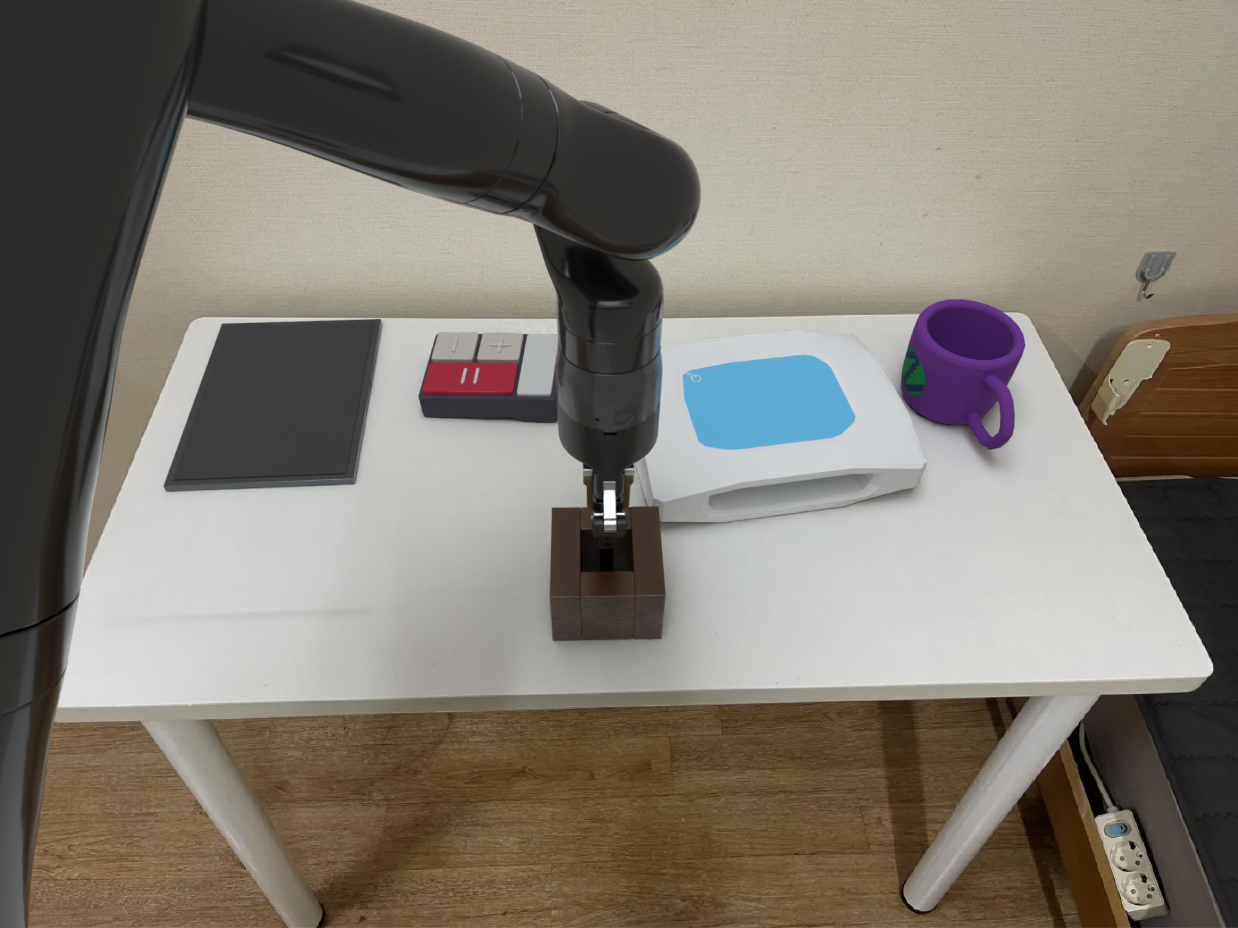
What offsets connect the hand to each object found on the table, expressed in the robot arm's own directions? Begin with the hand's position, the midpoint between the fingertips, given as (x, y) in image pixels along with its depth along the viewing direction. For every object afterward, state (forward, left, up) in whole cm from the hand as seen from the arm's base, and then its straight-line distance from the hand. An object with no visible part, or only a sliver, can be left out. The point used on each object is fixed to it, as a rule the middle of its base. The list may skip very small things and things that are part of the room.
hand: (606, 536), depth 76 cm
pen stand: (0, 0, -9) cm, 9 cm away
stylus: (0, 0, -9) cm, 9 cm away
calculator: (+2, +31, -9) cm, 32 cm away
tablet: (-20, +40, -9) cm, 45 cm away
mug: (+46, +3, -9) cm, 47 cm away
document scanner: (+24, +10, -9) cm, 28 cm away
